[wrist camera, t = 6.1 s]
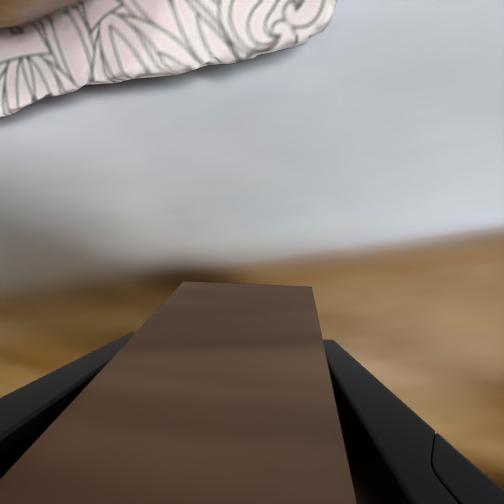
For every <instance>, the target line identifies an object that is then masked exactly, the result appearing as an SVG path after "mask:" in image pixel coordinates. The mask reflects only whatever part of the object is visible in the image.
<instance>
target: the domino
mask: <svg viewBox="0 0 504 504" xmlns="http://www.w3.org/2000/svg"><path fill="white" fill-rule="evenodd" d="M0 504H357V503H356V498H355V493H354V488H353V484H352V479H351V474H350V469H349V464H348V460H347V455H346V450H345V445H344V440H343V435H342V431H341V426H340V421H339V416H338V411H337V407H336V402H335V397H334V392H333V387H332V382H331V378H330V373H329V368H328V363H327V358H326V354H325V349H324V344H323V339H322V334H321V329H320V325H319V320H318V315H317V310H316V305H315V301H314V296H313V291H312V287H306V286H282V285H257V284H233V283H208V282H182V284H181V285H180V286H179V287H178V288H177V289H176V290H175V291H174V292H173V293H172V294H171V295H170V297H169V298H168V299H167V300H166V301H165V302H164V303H163V304H162V305H161V306H160V307H159V308H158V309H157V311H156V312H155V313H154V314H153V315H152V316H151V317H150V318H149V319H148V320H147V321H146V322H145V324H144V325H143V326H142V327H141V328H140V329H139V330H138V331H137V332H136V333H135V334H134V335H133V336H132V338H131V339H130V340H129V341H128V342H127V343H126V344H125V345H124V346H123V347H122V348H121V349H120V351H119V352H118V353H117V354H116V355H115V356H114V357H113V358H112V359H111V360H110V361H109V362H108V363H107V365H106V366H105V367H104V368H103V369H102V370H101V371H100V372H99V373H98V374H97V375H96V376H95V378H94V379H93V380H92V381H91V382H90V383H89V384H88V385H87V386H86V387H85V388H84V389H83V390H82V392H81V393H80V394H79V395H78V396H77V397H76V398H75V399H74V400H73V401H72V402H71V403H70V405H69V406H68V407H67V408H66V409H65V410H64V411H63V412H62V413H61V414H60V415H59V416H58V417H57V419H56V420H55V421H54V422H53V423H52V424H51V425H50V426H49V427H48V428H47V429H46V430H45V432H44V433H43V434H42V435H41V436H40V437H39V438H38V439H37V440H36V441H35V442H34V443H33V444H32V446H31V447H30V448H29V449H28V450H27V451H26V452H25V453H24V454H23V455H22V456H21V457H20V459H19V460H18V461H17V462H16V463H15V464H14V465H13V466H12V467H11V468H10V469H9V470H8V471H7V473H6V474H5V475H4V476H3V477H2V478H1V479H0Z"/></svg>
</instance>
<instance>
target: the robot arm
mask: <svg viewBox="0 0 504 504" xmlns="http://www.w3.org/2000/svg"><path fill="white" fill-rule="evenodd" d="M135 333H136V332H131V333H129V334H127V335H125V336H123V337H121V338H119V339H117V340H115V341H113V342H111V343H109V344H107V345H105V346H103V347H101V348H99V349H97V350H95V351H93V352H91V353H89V354H87V355H85V356H83V357H81V358H79V359H77V360H75V361H73V362H71V363H69V364H67V365H65V366H63V367H61V368H59V369H57V370H55V371H53V372H51V373H49V374H47V375H45V376H43V377H41V378H39V379H37V380H35V381H33V382H31V383H29V384H27V385H25V386H23V387H21V388H19V389H17V390H15V391H13V392H11V393H9V394H7V395H5V396H3V397H1V398H0V479H1V478H2V477H3V476H4V475H5V474H6V473H7V471H8V470H9V469H10V468H11V467H12V466H13V465H14V464H15V463H16V462H17V461H18V460H19V459H20V457H21V456H22V455H23V454H24V453H25V452H26V451H27V450H28V449H29V448H30V447H31V446H32V444H33V443H34V442H35V441H36V440H37V439H38V438H39V437H40V436H41V435H42V434H43V433H44V432H45V430H46V429H47V428H48V427H49V426H50V425H51V424H52V423H53V422H54V421H55V420H56V419H57V417H58V416H59V415H60V414H61V413H62V412H63V411H64V410H65V409H66V408H67V407H68V406H69V405H70V403H71V402H72V401H73V400H74V399H75V398H76V397H77V396H78V395H79V394H80V393H81V392H82V390H83V389H84V388H85V387H86V386H87V385H88V384H89V383H90V382H91V381H92V380H93V379H94V378H95V376H96V375H97V374H98V373H99V372H100V371H101V370H102V369H103V368H104V367H105V366H106V365H107V363H108V362H109V361H110V360H111V359H112V358H113V357H114V356H115V355H116V354H117V353H118V352H119V351H120V349H121V348H122V347H123V346H124V345H125V344H126V343H127V342H128V341H129V340H130V339H131V338H132V336H133V335H134V334H135ZM323 344H324V349H325V354H326V358H327V363H328V368H329V373H330V378H331V382H332V387H333V392H334V397H335V402H336V407H337V411H338V416H339V421H340V426H341V431H342V435H343V440H344V445H345V450H346V455H347V460H348V464H349V469H350V474H351V479H352V484H353V488H354V493H355V498H356V503H357V504H504V489H502V488H501V487H500V486H499V485H498V484H496V483H495V482H494V481H493V480H491V479H490V478H489V477H488V476H486V475H485V474H484V473H483V472H482V471H480V470H479V469H478V468H477V467H476V466H475V465H474V464H472V463H471V462H470V461H469V460H468V459H467V458H465V457H464V456H463V455H462V454H461V453H460V452H458V451H457V450H456V449H455V448H454V447H453V446H452V445H450V444H449V443H448V442H447V441H446V440H445V439H444V438H443V437H442V436H440V435H439V434H437V433H436V434H435V431H434V429H432V428H431V427H430V426H429V425H428V424H427V423H426V422H425V421H423V420H422V419H421V418H420V417H419V416H418V415H417V414H416V413H415V412H413V411H412V410H411V409H410V408H409V407H408V406H407V405H406V404H404V403H403V402H402V401H401V400H400V399H399V398H398V397H397V396H395V395H394V394H393V393H392V392H391V391H390V390H389V389H388V388H387V387H385V386H384V385H383V384H382V383H381V382H380V381H379V380H378V379H376V378H375V377H374V376H373V375H372V374H371V373H370V372H369V371H368V370H366V369H365V368H364V367H363V366H362V365H361V364H360V363H359V362H357V361H356V360H355V359H354V358H353V357H352V356H351V355H350V354H349V353H347V352H346V351H345V350H344V349H343V348H342V347H341V346H340V345H338V344H337V343H336V342H335V341H334V340H323Z"/></svg>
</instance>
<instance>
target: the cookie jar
mask: <svg viewBox="0 0 504 504" xmlns="http://www.w3.org/2000/svg"><path fill="white" fill-rule="evenodd" d="M336 3H337V0H0V117H2V116H7V115H12V114H14V113H15V112H17V111H19V110H20V109H22V108H24V107H26V106H28V105H31V104H33V103H35V102H37V101H40V100H42V99H44V98H46V97H52V96H58V95H63V94H67V93H71V92H75V91H77V90H78V89H79V88H81V87H82V86H84V85H85V84H108V83H117V82H122V81H126V80H130V79H135V78H147V77H159V76H171V75H178V74H181V73H185V72H188V71H191V70H194V69H197V68H200V67H203V66H207V65H215V64H232V63H238V62H241V61H244V60H247V59H252V58H255V57H256V56H257V55H260V54H266V53H270V52H274V51H277V50H282V49H287V48H291V47H295V46H298V45H301V44H305V43H306V42H307V40H308V39H309V38H311V37H313V36H314V35H316V34H318V33H321V32H323V31H324V30H325V28H326V27H327V25H328V24H329V23H330V20H331V18H332V15H333V12H334V10H335V7H336Z"/></svg>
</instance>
